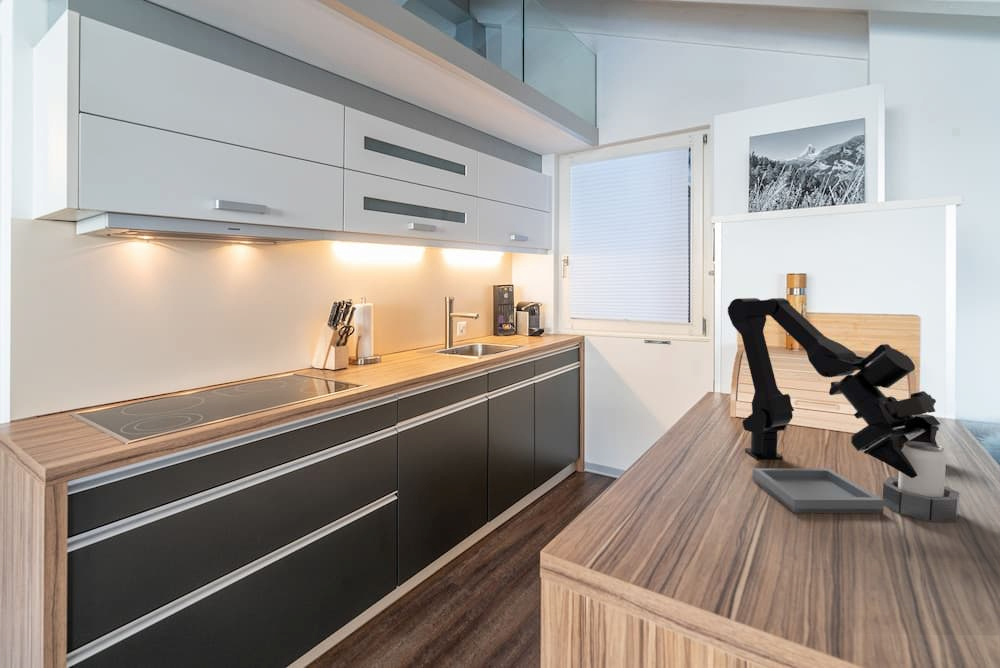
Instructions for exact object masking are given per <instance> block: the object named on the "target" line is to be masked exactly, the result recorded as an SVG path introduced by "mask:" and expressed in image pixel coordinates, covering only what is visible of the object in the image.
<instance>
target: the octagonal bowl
mask: <svg viewBox="0 0 1000 668" xmlns="http://www.w3.org/2000/svg"><path fill="white" fill-rule="evenodd" d="M898 481H899V476H898V477H897V476H893V477H887V478H886V479H885V480H884V482H883V485H882V487H883V488H882V499H883V500H884V504H883V506H886V507H887V508H889V509H890V510H892V511H893V512H896V513H897V514H900V515H901V516H902V515H903V516H907V517H909V518H910V517H911V518H915V519H918V520H923V521H926V522H932V523H933V522H935V523H937V522H938V523H942V522H943V523H946V522H947V523H950V522H951V523H954V522H957V521H956V520H957V518H958V516H959V506H960V494H961V493H960V492H959V491H957V490H954V489H953V488H950V487H948V486H946V485H944V497H927V496H923V495H919V494H914V493H910V492H905V491H904V490H902V489H900V488H898Z"/></svg>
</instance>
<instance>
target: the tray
mask: <svg viewBox="0 0 1000 668" xmlns="http://www.w3.org/2000/svg"><path fill="white" fill-rule="evenodd" d="M752 480H753V481H754V482H755V483H756V484H757V485H759V486H760V487H761V488H762V489H763V490H765V491H766V492H767V493H769V494H770V495H771V496H772V497H773V498H775V499H776V500H777V501H778V502H780V503H781V504H782V505H783V506H784V507H786V508H787V509H788V510H790V511H791V512H792V513H794V514H884V500H883V498H881V497H879V496H878V495H876V494H873V493H872V492H871V491H869V490H867V489H866V488H863V486H860V485H859V484H856V483H855V482H853V481H852V480H850V479H848V478H846V476H845V477H844V476H842V475H841V474H839V473H838V472H836V471H834V470H832V469H830V468H826V467H825V468H814V467H813V468H811V467H809V468H806V467H805V468H801V467H800V468H798V467H796V468H794V467H793V468H790V467H789V468H782V467H781V468H780V467H779V468H778V467H777V468H775V467H772V468H771V467H770V468H767V467H766V468H763V467H761V468H755V467H754V468H752Z"/></svg>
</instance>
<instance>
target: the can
mask: <svg viewBox="0 0 1000 668" xmlns="http://www.w3.org/2000/svg"><path fill="white" fill-rule="evenodd" d="M944 450H945V449H944V447H942V446H940V445H938V444H937V445H934V444H930V443H924V442H915V441H909V442H905V443H904V447H903V448H902V450H901V451H902V452H903V454H904V455H905V457H906V458H907V460H908V461H909V462H910V464H911V465H912V467H913V468H914V470H915V471H916V473H917V476H916V477H914V478H911V477H909V476H907V475H905V474H904V473H902V472H900V471H898V477H899V481H898V488H900V489H902V490H904V491H905V492H910V493H914V494H919V495H923V496H927V497H944V486H946V485H945V483H946V482H945V481H946V471H947V470H946V469H947V468H946V466H947V457H946V455H945V454H946V453H944Z"/></svg>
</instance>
